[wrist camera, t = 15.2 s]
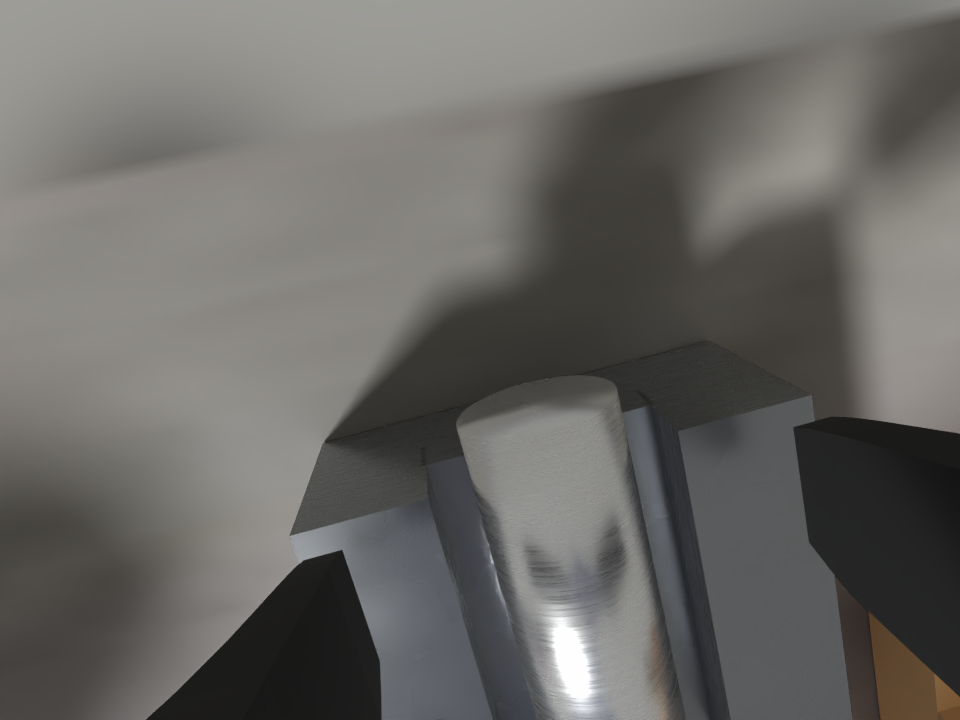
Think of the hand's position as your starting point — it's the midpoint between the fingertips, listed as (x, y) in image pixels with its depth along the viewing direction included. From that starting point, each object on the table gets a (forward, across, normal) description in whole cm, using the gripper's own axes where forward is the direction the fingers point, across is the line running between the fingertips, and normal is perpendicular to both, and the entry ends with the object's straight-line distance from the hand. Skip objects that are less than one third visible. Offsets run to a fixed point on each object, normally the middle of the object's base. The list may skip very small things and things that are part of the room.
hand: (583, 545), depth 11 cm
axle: (+4, 0, +4) cm, 5 cm away
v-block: (+6, 0, +3) cm, 7 cm away
